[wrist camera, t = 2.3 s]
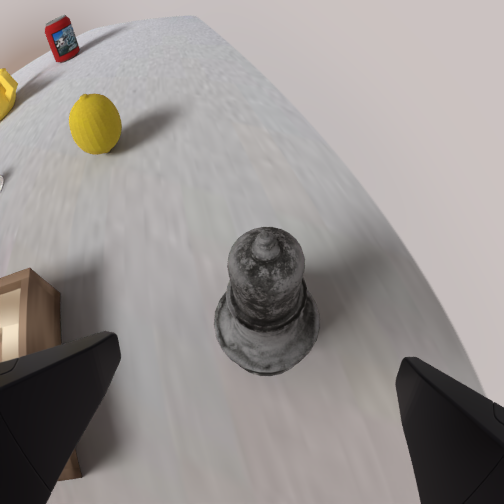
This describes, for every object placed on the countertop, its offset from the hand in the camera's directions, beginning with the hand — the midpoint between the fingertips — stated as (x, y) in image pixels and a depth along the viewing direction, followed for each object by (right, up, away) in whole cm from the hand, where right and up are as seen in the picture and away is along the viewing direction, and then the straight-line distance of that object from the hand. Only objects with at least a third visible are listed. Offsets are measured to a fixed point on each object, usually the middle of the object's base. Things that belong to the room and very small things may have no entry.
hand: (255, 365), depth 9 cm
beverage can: (-45, +51, +46) cm, 82 cm away
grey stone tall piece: (+1, -2, +11) cm, 12 cm away
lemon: (-16, +14, +22) cm, 31 cm away
